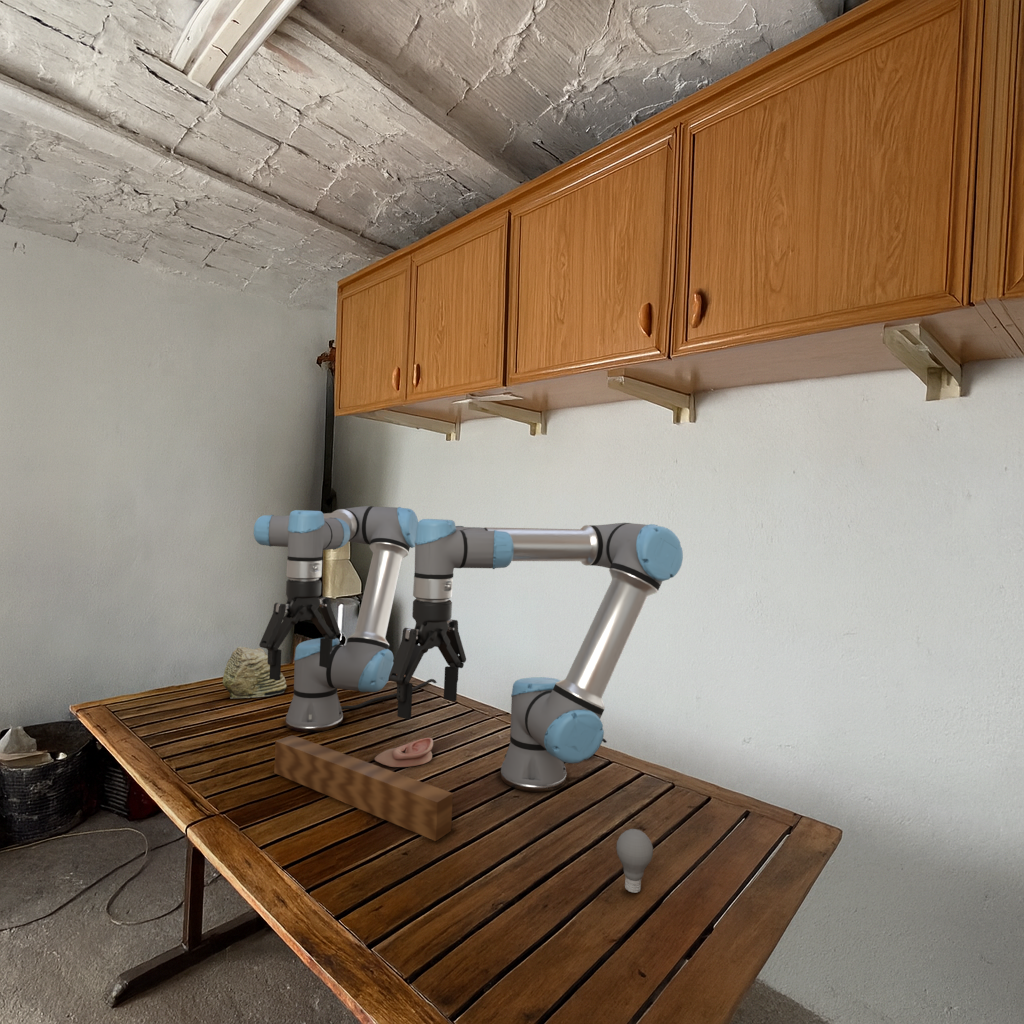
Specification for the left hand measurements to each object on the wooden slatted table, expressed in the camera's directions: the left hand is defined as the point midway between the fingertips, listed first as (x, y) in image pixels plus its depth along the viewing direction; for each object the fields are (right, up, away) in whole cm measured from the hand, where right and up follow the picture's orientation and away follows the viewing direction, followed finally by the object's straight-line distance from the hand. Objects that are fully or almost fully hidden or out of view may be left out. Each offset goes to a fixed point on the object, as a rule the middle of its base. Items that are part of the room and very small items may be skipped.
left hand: (300, 672), depth 143 cm
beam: (+15, -24, -10) cm, 30 cm away
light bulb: (+68, -27, -37) cm, 82 cm away
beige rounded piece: (+21, -24, +12) cm, 34 cm away
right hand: (+31, -2, -20) cm, 37 cm away
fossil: (-33, -21, +55) cm, 68 cm away
